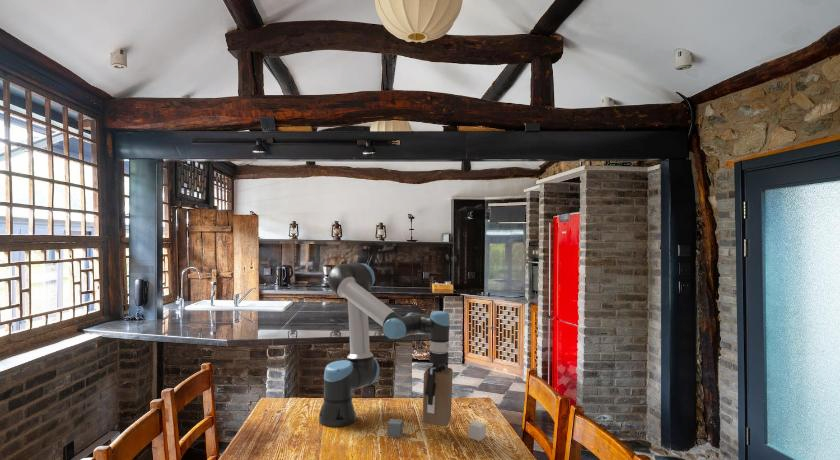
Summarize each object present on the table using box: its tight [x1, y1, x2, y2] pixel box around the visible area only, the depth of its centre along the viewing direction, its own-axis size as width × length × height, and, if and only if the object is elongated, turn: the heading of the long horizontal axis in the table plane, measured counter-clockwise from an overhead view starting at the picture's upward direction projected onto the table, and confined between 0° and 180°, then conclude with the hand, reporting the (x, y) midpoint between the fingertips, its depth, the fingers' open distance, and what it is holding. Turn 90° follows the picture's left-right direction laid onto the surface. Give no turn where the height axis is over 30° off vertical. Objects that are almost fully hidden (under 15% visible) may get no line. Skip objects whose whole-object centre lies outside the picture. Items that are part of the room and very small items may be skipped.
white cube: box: [467, 420, 487, 442], centre depth 187 cm, size 5×5×5 cm
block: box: [421, 365, 454, 427], centre depth 188 cm, size 10×10×20 cm
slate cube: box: [386, 418, 404, 438], centre depth 188 cm, size 5×5×5 cm
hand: (437, 407), depth 188 cm, fingers closed on block, 11 cm apart
